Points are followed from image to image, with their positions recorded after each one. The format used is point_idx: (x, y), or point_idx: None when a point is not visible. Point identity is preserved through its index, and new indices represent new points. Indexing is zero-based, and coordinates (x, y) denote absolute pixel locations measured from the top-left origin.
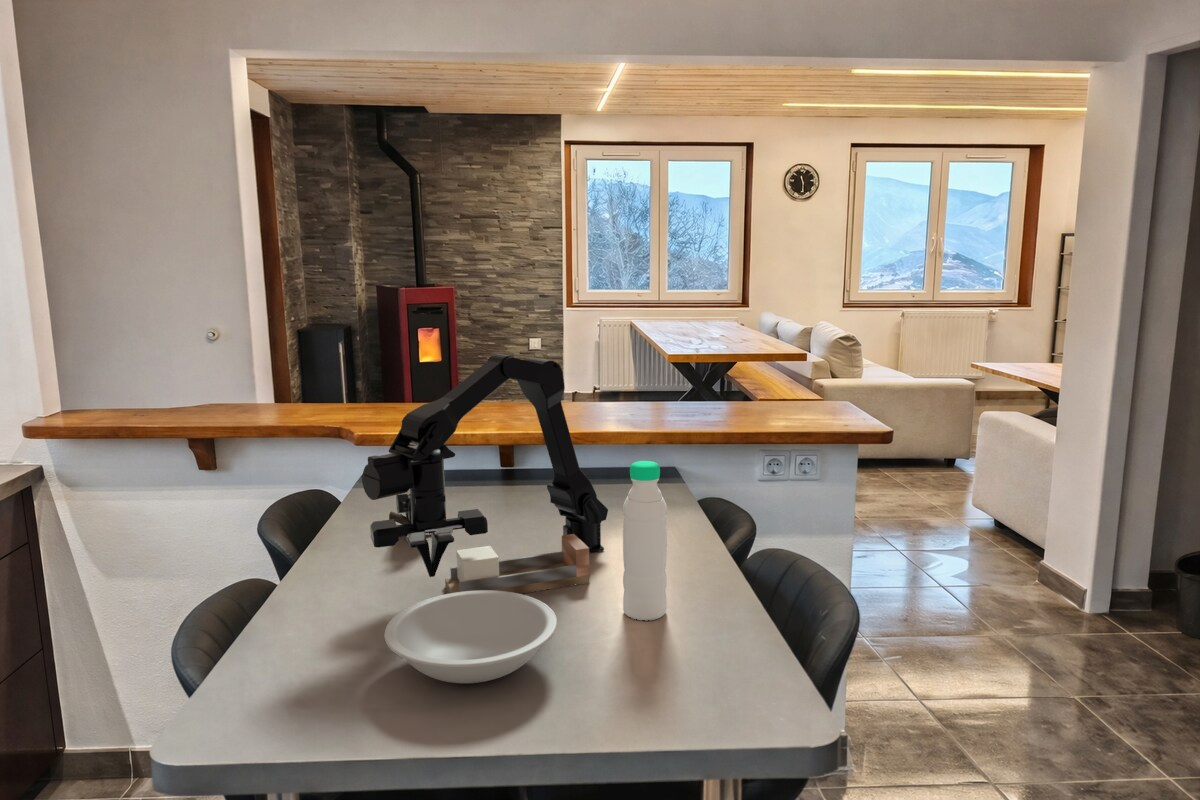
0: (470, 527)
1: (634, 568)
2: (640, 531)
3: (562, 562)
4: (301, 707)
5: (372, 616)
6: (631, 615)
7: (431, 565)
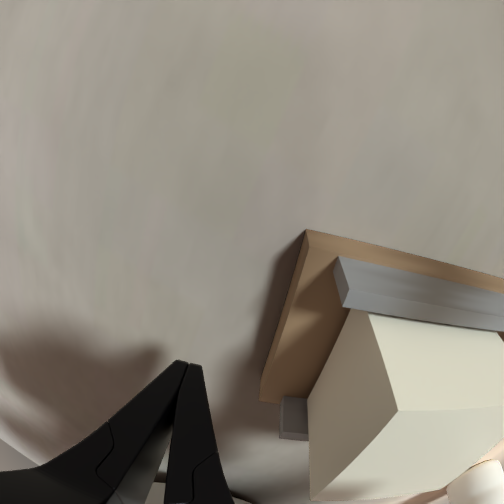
0: None
1: None
2: None
3: None
4: (19, 434)
5: (31, 304)
6: (447, 489)
7: (164, 450)
